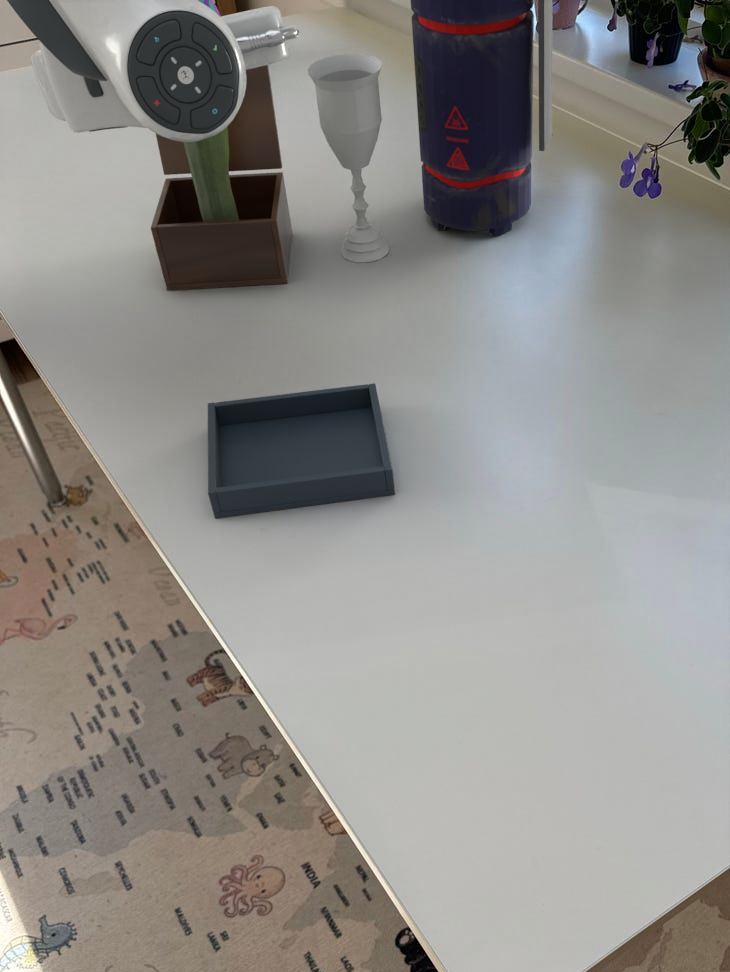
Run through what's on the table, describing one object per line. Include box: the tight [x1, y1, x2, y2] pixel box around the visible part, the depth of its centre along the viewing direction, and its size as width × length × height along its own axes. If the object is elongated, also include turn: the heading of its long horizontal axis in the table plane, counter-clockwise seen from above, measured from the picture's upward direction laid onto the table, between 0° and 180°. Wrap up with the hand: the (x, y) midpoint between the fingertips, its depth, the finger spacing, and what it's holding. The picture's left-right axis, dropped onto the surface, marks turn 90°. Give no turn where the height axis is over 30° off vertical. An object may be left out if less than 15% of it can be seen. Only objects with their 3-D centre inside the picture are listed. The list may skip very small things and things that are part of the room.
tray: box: [207, 383, 396, 519], centre depth 85 cm, size 14×12×2 cm
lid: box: [155, 65, 283, 176], centre depth 105 cm, size 12×12×1 cm
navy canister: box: [410, 0, 554, 237], centre depth 104 cm, size 14×12×30 cm
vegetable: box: [184, 127, 239, 222], centre depth 102 cm, size 4×4×20 cm
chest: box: [150, 171, 293, 291], centre depth 107 cm, size 11×12×7 cm
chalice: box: [307, 53, 390, 263], centre depth 104 cm, size 7×7×18 cm
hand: (159, 53), depth 89 cm, fingers open, 8 cm apart
